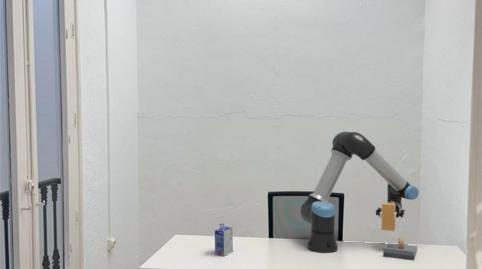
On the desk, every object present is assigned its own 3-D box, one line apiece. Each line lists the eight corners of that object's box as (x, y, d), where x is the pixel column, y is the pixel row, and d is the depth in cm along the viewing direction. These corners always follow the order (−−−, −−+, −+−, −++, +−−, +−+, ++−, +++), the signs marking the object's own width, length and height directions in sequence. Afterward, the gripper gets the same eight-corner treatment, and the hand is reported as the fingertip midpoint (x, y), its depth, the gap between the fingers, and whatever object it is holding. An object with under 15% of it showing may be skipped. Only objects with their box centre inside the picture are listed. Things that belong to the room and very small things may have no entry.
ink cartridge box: (223, 250, 231) (223, 221, 231) (233, 251, 228) (233, 222, 228) (214, 255, 222) (214, 225, 222) (224, 256, 219) (224, 226, 219)
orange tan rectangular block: (381, 229, 233) (382, 204, 233) (383, 227, 239) (383, 202, 238) (394, 231, 231) (394, 205, 231) (395, 228, 236) (395, 203, 236)
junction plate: (383, 256, 224) (383, 242, 223) (388, 247, 242) (388, 233, 242) (413, 260, 218) (414, 245, 218) (416, 250, 236) (417, 236, 236)
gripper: (410, 217, 247) (407, 225, 226) (374, 214, 255) (368, 222, 234) (411, 203, 247) (407, 210, 226) (374, 200, 255) (368, 207, 234)
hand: (387, 216), depth 230 cm, fingers closed on orange tan rectangular block, 6 cm apart
